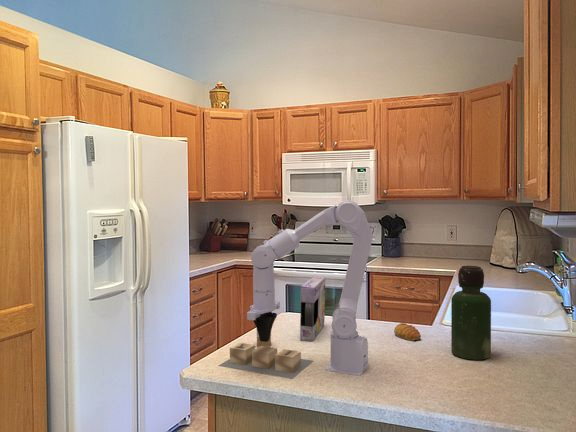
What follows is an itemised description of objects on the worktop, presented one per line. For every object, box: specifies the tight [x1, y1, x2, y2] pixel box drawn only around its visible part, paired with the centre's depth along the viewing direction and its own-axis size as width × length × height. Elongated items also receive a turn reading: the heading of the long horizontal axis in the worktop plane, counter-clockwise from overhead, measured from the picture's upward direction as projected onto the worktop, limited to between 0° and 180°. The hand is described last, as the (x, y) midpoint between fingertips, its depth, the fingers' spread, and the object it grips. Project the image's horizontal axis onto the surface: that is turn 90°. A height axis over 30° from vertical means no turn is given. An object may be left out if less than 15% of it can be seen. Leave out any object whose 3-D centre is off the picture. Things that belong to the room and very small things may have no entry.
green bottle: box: [450, 265, 492, 361], centre depth 131 cm, size 10×10×25 cm
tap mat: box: [217, 358, 315, 380], centre depth 125 cm, size 22×14×1 cm, turn 64°
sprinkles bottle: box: [256, 330, 272, 348], centre depth 140 cm, size 5×5×13 cm
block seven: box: [229, 342, 256, 365], centre depth 127 cm, size 5×5×4 cm
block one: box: [275, 348, 302, 373], centre depth 121 cm, size 5×5×4 cm
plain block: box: [252, 346, 278, 369], centre depth 124 cm, size 5×5×4 cm
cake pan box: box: [299, 276, 326, 342], centre depth 154 cm, size 19×5×18 cm, turn 164°
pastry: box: [393, 322, 422, 342], centre depth 149 cm, size 9×7×4 cm
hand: (264, 340), depth 124 cm, fingers closed
